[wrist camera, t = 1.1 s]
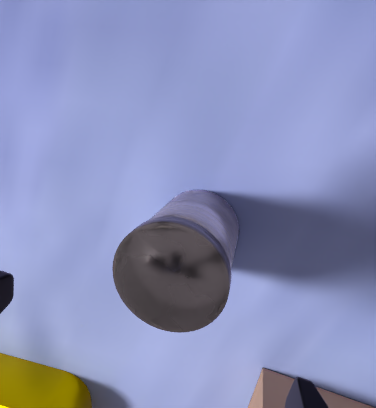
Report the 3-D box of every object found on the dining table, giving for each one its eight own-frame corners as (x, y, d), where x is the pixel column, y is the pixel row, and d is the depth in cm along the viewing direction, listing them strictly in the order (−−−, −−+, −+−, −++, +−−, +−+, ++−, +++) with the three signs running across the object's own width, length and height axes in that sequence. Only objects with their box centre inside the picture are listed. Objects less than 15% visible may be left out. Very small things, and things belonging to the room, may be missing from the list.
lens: (250, 200, 16) (243, 243, 11) (229, 275, 18) (213, 348, 12) (167, 178, 17) (120, 208, 11) (154, 251, 18) (106, 310, 13)
